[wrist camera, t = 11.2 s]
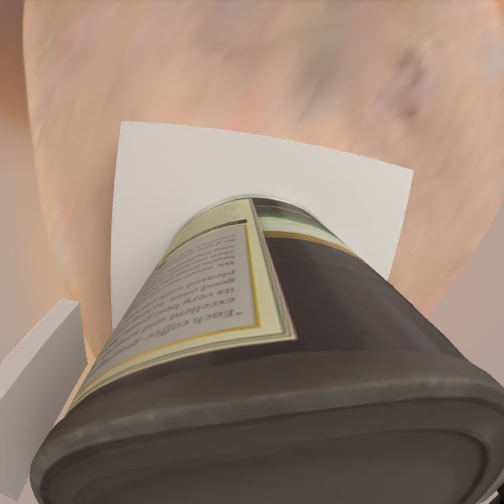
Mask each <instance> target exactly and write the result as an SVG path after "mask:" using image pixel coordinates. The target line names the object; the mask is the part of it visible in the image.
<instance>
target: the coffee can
mask: <svg viewBox="0 0 504 504" xmlns="http://www.w3.org/2000/svg"><path fill="white" fill-rule="evenodd" d="M503 469H504V388H503V387H502V386H501V385H500V384H499V383H498V382H497V381H496V380H495V379H494V378H493V377H492V376H491V375H490V374H488V373H487V372H486V371H484V370H482V369H480V368H479V367H477V366H476V365H474V364H472V363H471V362H469V361H468V360H467V359H466V358H465V357H464V356H463V355H462V354H461V353H460V352H459V351H458V350H457V348H455V346H454V345H453V344H452V343H451V342H450V341H449V340H448V339H447V338H446V337H445V336H444V335H443V334H442V333H441V332H440V331H439V330H438V329H437V328H436V327H435V326H434V325H433V324H432V323H430V322H429V321H428V320H427V319H426V318H425V317H424V316H423V315H422V314H421V313H420V312H419V311H418V310H417V309H416V308H415V307H414V306H413V305H412V304H411V303H410V302H409V301H408V300H407V299H406V298H404V297H403V296H402V295H401V294H400V293H399V292H398V291H397V290H396V289H395V288H394V287H393V286H392V285H391V284H390V283H388V282H387V281H386V280H385V279H384V278H383V277H382V276H381V275H380V274H379V273H377V272H376V271H375V270H374V269H373V268H372V267H371V266H369V265H368V264H367V263H366V262H365V261H364V260H363V259H362V258H361V257H359V256H358V255H357V254H356V253H355V252H354V251H353V250H351V249H350V248H349V247H348V246H347V245H346V244H345V243H344V242H343V241H341V240H340V239H339V238H338V237H337V236H336V235H334V234H333V233H332V232H331V231H330V230H328V229H327V227H326V226H325V225H324V224H323V223H322V222H321V221H320V220H319V219H318V218H317V217H316V216H315V215H314V214H312V213H311V212H309V211H308V210H307V209H305V208H303V207H302V206H300V205H298V204H296V203H293V202H291V201H288V200H285V199H282V198H279V197H274V196H268V195H251V194H249V195H239V196H235V197H230V198H227V199H224V200H221V201H218V202H216V203H214V204H212V205H210V206H208V207H206V208H204V209H203V210H201V211H200V212H198V213H197V214H195V215H194V216H193V217H192V218H190V219H189V220H188V221H187V222H186V223H185V224H184V225H183V226H182V227H181V228H180V229H179V231H178V232H177V233H176V235H175V236H174V238H173V240H172V242H171V243H170V245H169V247H168V250H167V251H166V252H165V254H164V255H163V257H162V258H161V260H160V261H159V263H158V264H157V266H156V267H155V269H154V270H153V272H152V273H151V274H150V276H149V277H148V279H147V280H146V282H145V283H144V285H143V286H142V288H141V289H140V291H139V292H138V294H137V296H136V297H135V299H134V300H133V302H132V303H131V305H130V306H129V308H128V310H127V311H126V313H125V314H124V316H123V317H122V319H121V321H120V322H119V324H118V325H117V327H116V329H115V330H114V332H113V333H112V335H111V336H110V338H109V339H108V341H107V343H106V345H105V346H104V348H103V350H102V351H101V353H100V355H99V356H98V358H97V360H96V361H95V363H94V365H93V366H92V368H91V370H90V372H89V373H88V375H87V377H86V379H85V380H84V382H83V384H82V385H81V387H80V389H79V391H78V393H77V395H76V396H75V398H74V400H73V402H72V404H71V406H70V407H69V409H68V411H67V413H66V415H65V417H64V418H63V419H62V420H61V421H60V422H58V423H57V425H55V426H54V428H53V429H52V430H51V431H50V432H49V434H48V435H47V437H46V438H45V440H44V442H43V443H42V445H41V446H40V448H39V449H38V451H37V453H36V455H35V457H34V459H33V461H32V463H31V466H30V482H31V487H32V490H33V493H34V495H35V497H36V499H37V501H38V503H39V504H475V503H476V502H477V501H478V500H479V499H480V498H481V497H482V496H483V495H484V494H485V493H486V492H487V490H488V489H489V488H490V487H491V486H492V485H493V483H494V482H495V481H496V480H497V478H498V477H499V475H500V474H501V472H502V470H503Z"/></svg>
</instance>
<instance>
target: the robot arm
mask: <svg viewBox="0 0 504 504" xmlns="http://www.w3.org/2000/svg"><path fill="white" fill-rule="evenodd" d="M86 366H87V358H86V352H85V344H84V337H83V329H82V320H81V310H80V302H78V301H73V300H68V299H64V298H61V299H60V300H59V301H58V302H57V303H56V304H55V305H54V306H53V307H52V308H51V309H50V310H49V311H48V312H47V313H46V314H45V315H44V316H43V318H41V319H40V321H39V322H38V323H37V324H36V325H35V326H34V327H33V328H32V329H31V330H30V331H29V332H28V333H27V334H26V335H25V337H24V338H23V339H22V340H21V341H20V342H19V343H18V344H17V345H16V346H15V348H14V349H13V350H12V351H11V352H10V353H9V354H8V355H7V357H6V358H5V359H4V360H3V361H2V362H1V363H0V493H1V494H4V495H5V496H7V497H9V498H11V499H13V500H15V501H18V499H19V496H20V494H21V492H22V489H23V487H24V485H25V483H26V481H27V478H28V476H29V474H30V466H31V463H32V461H33V459H34V457H35V455H36V453H37V451H38V449H39V448H40V446H41V445H42V443H43V442H44V440H45V438H46V437H47V435H48V434H49V432H50V431H51V429H52V427H53V425H54V423H55V421H56V420H57V418H58V416H59V414H60V412H61V410H62V408H63V406H64V405H65V403H66V401H67V399H68V397H69V396H70V394H71V392H72V390H73V388H74V387H75V385H76V383H77V381H78V379H79V378H80V376H81V374H82V373H83V371H84V369H85V368H86ZM496 490H497V491H498V493H499V494H498V495H497V496H496V497H495V498H494V499H493V500H492V501H491V502H490V503H489V504H504V469H503V470H502V472H501V474H500V475H499V477H498V478H497V480H496V481H495V482H494V483H493V485H492V486H491V487H490V488H489V489H488V490H487V492H486V493H485V494H484V495H483V496H482V497H481V498H480V499H479V500H478V501H477V502H476V503H475V504H480V503H482V502H484V501H486V500H487V499H488V498H489V497H490V496H491V495H492V494H493V493H494V492H495V491H496Z"/></svg>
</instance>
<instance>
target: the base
mask: <svg viewBox="0 0 504 504" xmlns="http://www.w3.org/2000/svg"><path fill="white" fill-rule="evenodd" d="M413 173H414V170H410V169H407V168H404V167H400V166H397V165H393V164H390V163H386V162H382V161H379V160H375V159H371V158H367V157H363V156H360V155H355V154H351V153H347V152H343V151H339V150H334V149H330V148H325V147H321V146H316V145H311V144H306V143H301V142H296V141H291V140H286V139H280V138H275V137H269V136H263V135H257V134H250V133H244V132H237V131H229V130H222V129H214V128H206V127H197V126H187V125H176V124H164V123H151V122H134V121H122V122H121V129H120V136H119V144H118V152H117V161H116V171H115V181H114V194H113V209H112V229H111V309H112V329H113V332H114V330H115V329H116V327H117V325H118V324H119V322H120V321H121V319H122V317H123V316H124V314H125V313H126V311H127V310H128V308H129V306H130V305H131V303H132V302H133V300H134V299H135V297H136V296H137V294H138V292H139V291H140V289H141V288H142V286H143V285H144V283H145V282H146V280H147V279H148V277H149V276H150V274H151V273H152V272H153V270H154V269H155V267H156V266H157V264H158V263H159V261H160V260H161V258H162V257H163V255H164V254H165V252H166V251H167V250H168V247H169V245H170V243H171V242H172V240H173V238H174V236H175V235H176V233H177V232H178V231H179V229H180V228H181V227H182V226H183V225H184V224H185V223H186V222H187V221H188V220H189V219H190V218H192V217H193V216H194V215H195V214H197V213H198V212H200V211H201V210H203V209H204V208H206V207H208V206H210V205H212V204H214V203H216V202H218V201H221V200H224V199H227V198H230V197H235V196H239V195H249V194H251V195H268V196H274V197H279V198H282V199H285V200H288V201H291V202H293V203H296V204H298V205H300V206H302V207H303V208H305V209H307V210H308V211H309V212H311V213H312V214H314V215H315V216H316V217H317V218H318V219H319V220H320V221H321V222H322V223H323V224H324V225H325V226H326V227H327V229H328V230H330V231H331V232H332V233H333V234H334V235H336V236H337V237H338V238H339V239H340V240H341V241H343V242H344V243H345V244H346V245H347V246H348V247H349V248H350V249H351V250H353V251H354V252H355V253H356V254H357V255H358V256H359V257H361V258H362V259H363V260H364V261H365V262H366V263H367V264H368V265H369V266H371V267H372V268H373V269H374V270H375V271H376V272H377V273H379V274H380V275H381V276H382V277H383V278H384V279H385V280H386V281H388V278H389V274H390V271H391V267H392V264H393V260H394V256H395V253H396V249H397V245H398V241H399V237H400V233H401V229H402V225H403V221H404V216H405V212H406V208H407V203H408V198H409V193H410V188H411V183H412V178H413Z"/></svg>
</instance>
